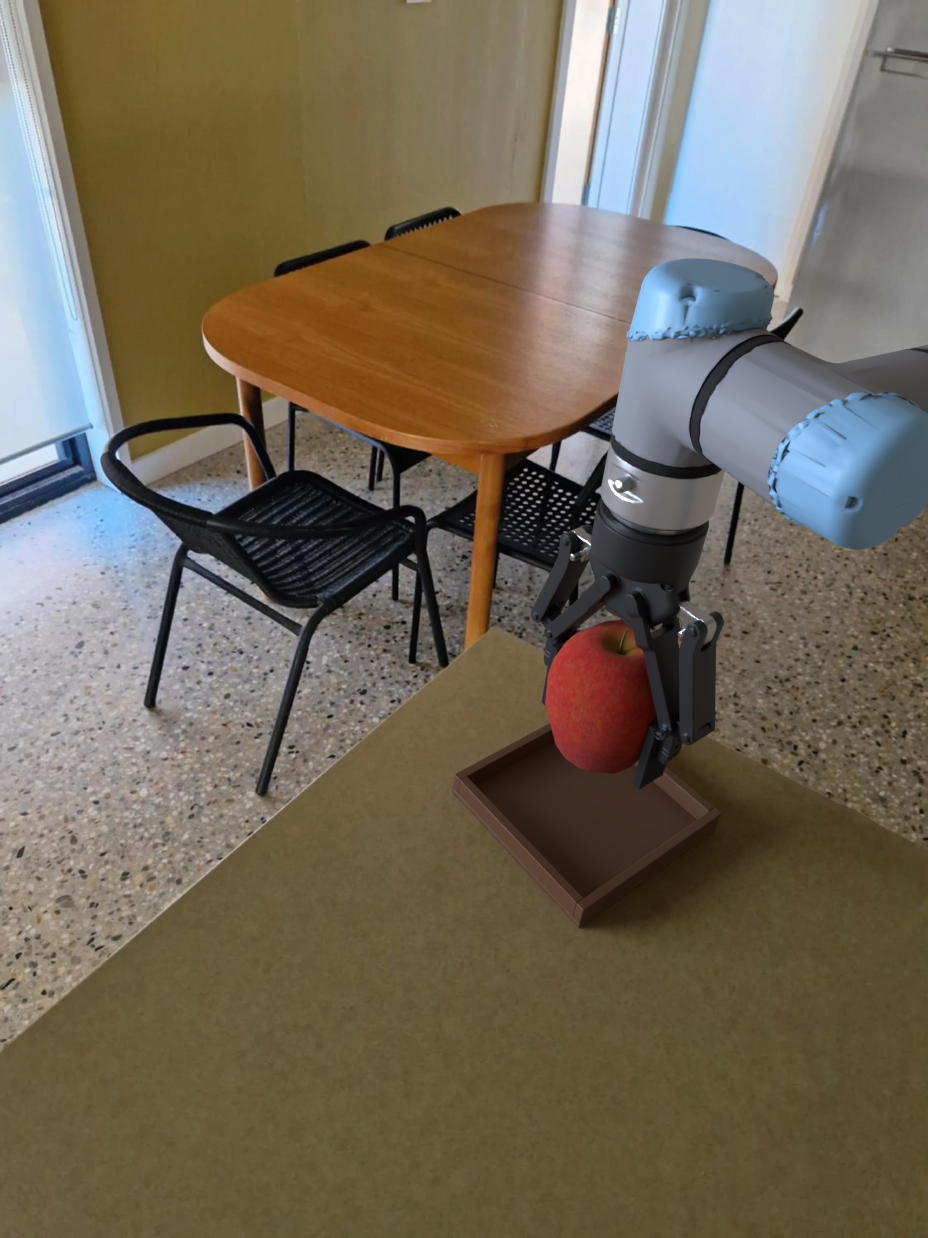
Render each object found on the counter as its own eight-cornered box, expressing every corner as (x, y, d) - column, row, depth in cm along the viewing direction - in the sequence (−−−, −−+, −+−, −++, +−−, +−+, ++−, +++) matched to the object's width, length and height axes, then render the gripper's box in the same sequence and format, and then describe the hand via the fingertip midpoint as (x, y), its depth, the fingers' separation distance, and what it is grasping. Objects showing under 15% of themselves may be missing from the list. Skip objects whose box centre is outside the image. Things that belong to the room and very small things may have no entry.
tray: (714, 831, 78) (722, 813, 77) (578, 928, 70) (583, 910, 68) (585, 719, 88) (589, 701, 87) (452, 792, 80) (454, 774, 78)
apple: (553, 698, 79) (575, 572, 71) (664, 729, 77) (702, 604, 68) (521, 781, 72) (542, 651, 63) (644, 818, 70) (684, 690, 61)
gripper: (503, 449, 64) (479, 675, 78) (755, 616, 51) (671, 853, 65) (579, 425, 68) (543, 645, 82) (832, 574, 54) (737, 807, 68)
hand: (599, 737), depth 73 cm, fingers closed on apple, 10 cm apart
